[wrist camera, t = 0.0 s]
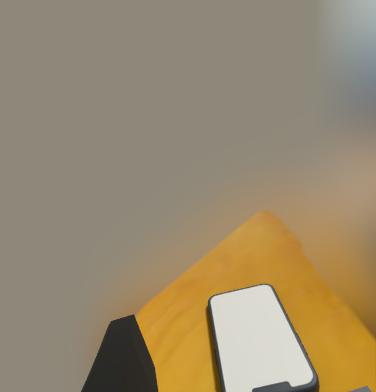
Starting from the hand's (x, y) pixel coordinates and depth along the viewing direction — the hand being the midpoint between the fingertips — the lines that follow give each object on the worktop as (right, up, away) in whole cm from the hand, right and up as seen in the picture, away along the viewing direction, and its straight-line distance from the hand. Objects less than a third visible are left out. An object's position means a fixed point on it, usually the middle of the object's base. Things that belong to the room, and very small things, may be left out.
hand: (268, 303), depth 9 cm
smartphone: (+5, -13, +27) cm, 31 cm away
